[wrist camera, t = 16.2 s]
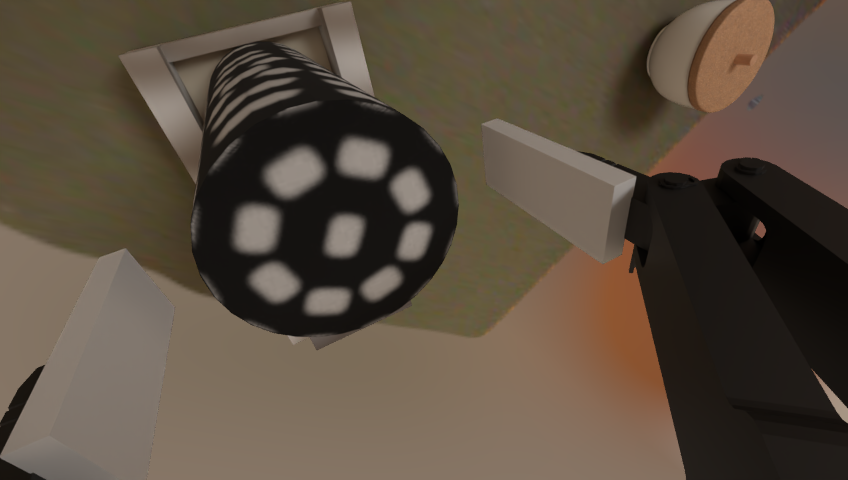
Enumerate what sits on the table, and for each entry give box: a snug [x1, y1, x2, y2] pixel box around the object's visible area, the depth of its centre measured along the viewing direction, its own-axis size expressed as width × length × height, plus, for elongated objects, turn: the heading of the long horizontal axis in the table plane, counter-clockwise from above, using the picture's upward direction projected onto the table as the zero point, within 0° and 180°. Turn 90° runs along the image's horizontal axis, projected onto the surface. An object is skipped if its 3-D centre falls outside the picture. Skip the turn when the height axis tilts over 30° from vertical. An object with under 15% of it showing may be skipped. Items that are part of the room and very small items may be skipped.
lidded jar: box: [646, 0, 774, 113], centre depth 40 cm, size 11×11×9 cm
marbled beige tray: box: [118, 2, 412, 350], centre depth 31 cm, size 26×14×6 cm, turn 11°
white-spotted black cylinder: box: [191, 42, 459, 337], centre depth 19 cm, size 8×8×20 cm
